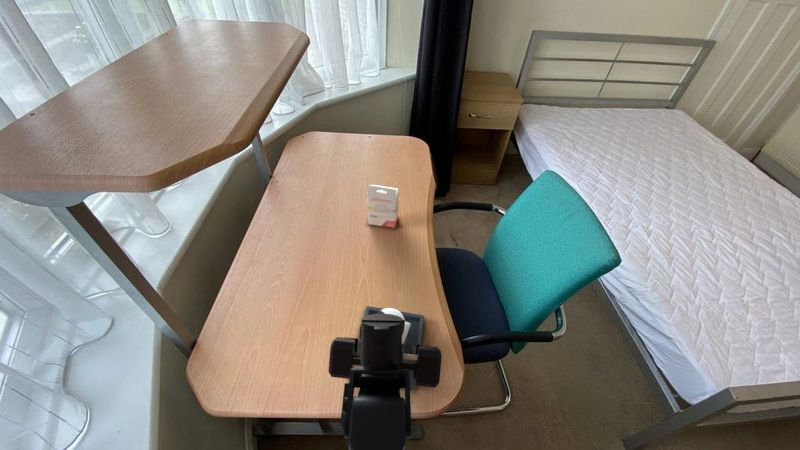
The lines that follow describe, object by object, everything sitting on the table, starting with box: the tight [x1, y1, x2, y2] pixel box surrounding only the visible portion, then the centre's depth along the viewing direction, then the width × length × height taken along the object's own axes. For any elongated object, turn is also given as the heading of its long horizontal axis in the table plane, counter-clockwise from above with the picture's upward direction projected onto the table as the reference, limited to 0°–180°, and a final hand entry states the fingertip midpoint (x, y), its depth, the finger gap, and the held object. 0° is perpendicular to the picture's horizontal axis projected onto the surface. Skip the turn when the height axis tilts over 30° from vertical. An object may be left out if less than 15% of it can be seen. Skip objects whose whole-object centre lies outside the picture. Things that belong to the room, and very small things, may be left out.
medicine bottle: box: [377, 307, 411, 353], centre depth 67 cm, size 7×7×12 cm
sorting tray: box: [357, 305, 425, 391], centre depth 71 cm, size 16×14×2 cm
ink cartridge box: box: [366, 184, 400, 229], centre depth 95 cm, size 9×5×15 cm, turn 80°
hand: (388, 344), depth 64 cm, fingers open, 9 cm apart
